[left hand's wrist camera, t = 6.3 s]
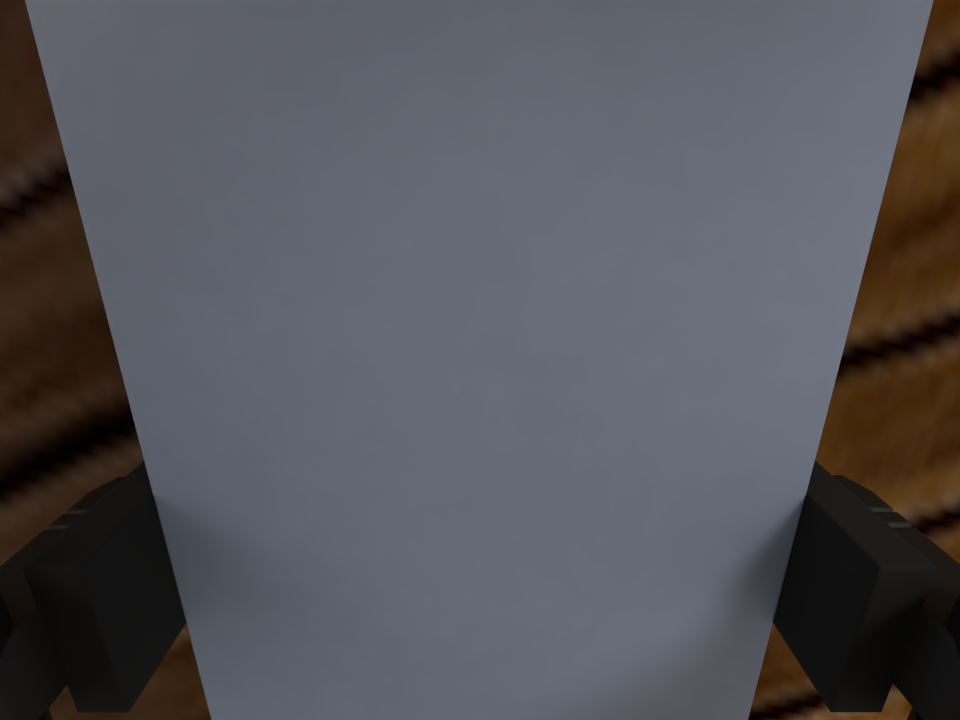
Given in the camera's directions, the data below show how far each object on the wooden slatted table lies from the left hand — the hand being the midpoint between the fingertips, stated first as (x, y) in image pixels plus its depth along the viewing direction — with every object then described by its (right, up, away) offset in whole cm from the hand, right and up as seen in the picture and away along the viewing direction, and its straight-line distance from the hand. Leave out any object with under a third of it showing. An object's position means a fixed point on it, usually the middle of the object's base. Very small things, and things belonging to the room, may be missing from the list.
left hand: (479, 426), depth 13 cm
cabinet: (0, +6, +4) cm, 8 cm away
